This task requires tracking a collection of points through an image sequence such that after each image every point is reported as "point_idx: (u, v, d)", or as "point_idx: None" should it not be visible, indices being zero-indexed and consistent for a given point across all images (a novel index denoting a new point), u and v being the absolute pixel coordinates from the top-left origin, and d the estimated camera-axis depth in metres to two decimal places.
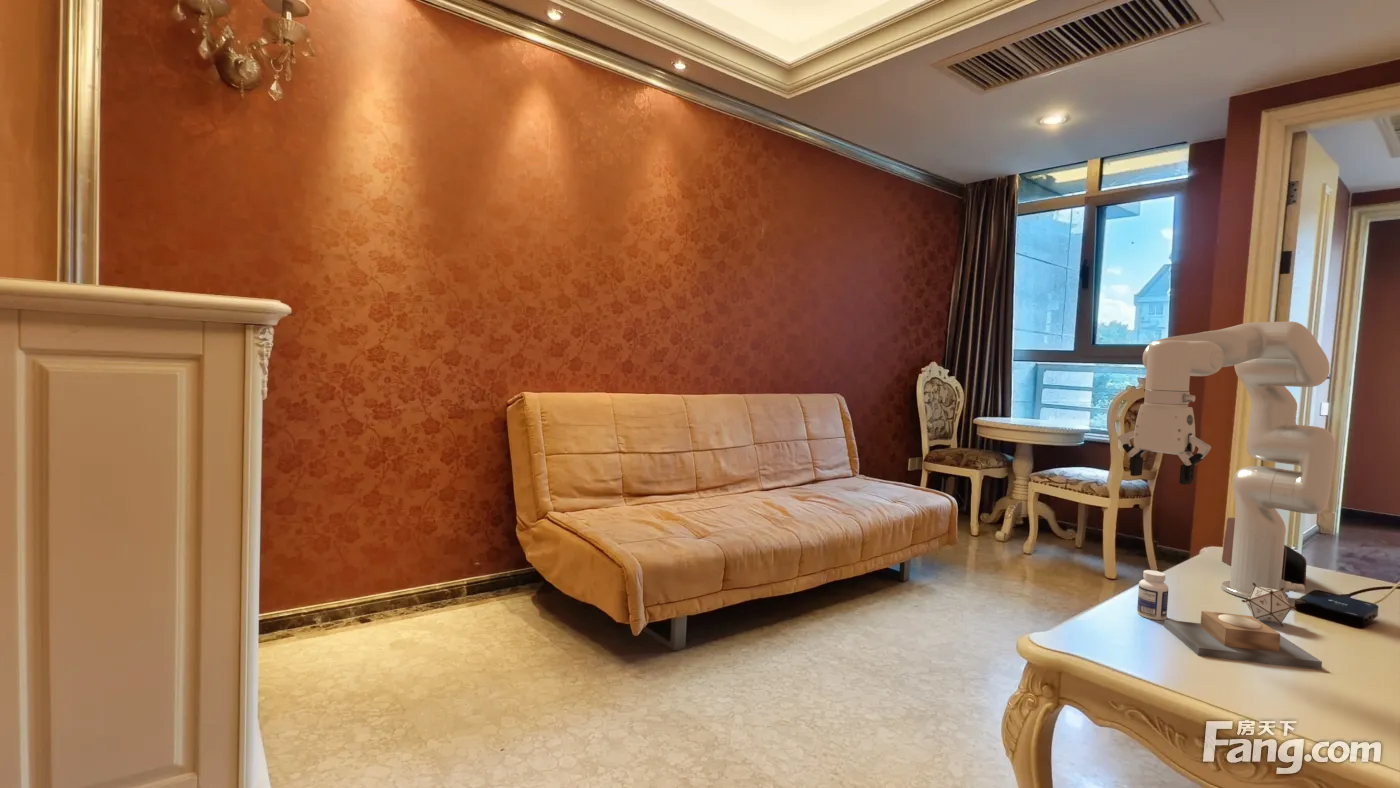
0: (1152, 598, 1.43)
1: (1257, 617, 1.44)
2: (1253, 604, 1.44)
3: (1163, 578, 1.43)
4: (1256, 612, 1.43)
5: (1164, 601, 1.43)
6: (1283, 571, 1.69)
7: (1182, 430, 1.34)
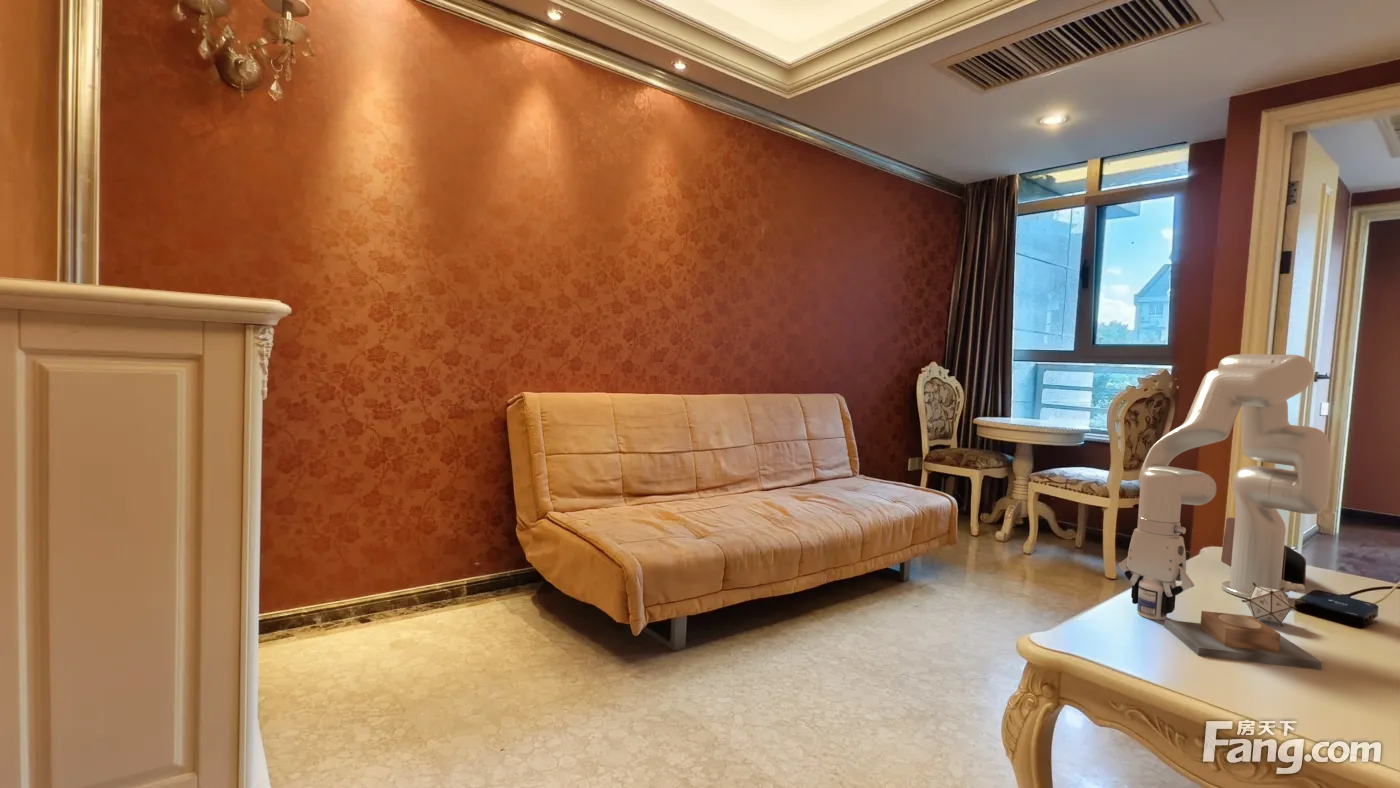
0: (1152, 597, 1.43)
1: (1257, 617, 1.44)
2: (1253, 604, 1.44)
3: None
4: (1256, 612, 1.43)
5: None
6: (1283, 571, 1.69)
7: (1173, 561, 1.40)
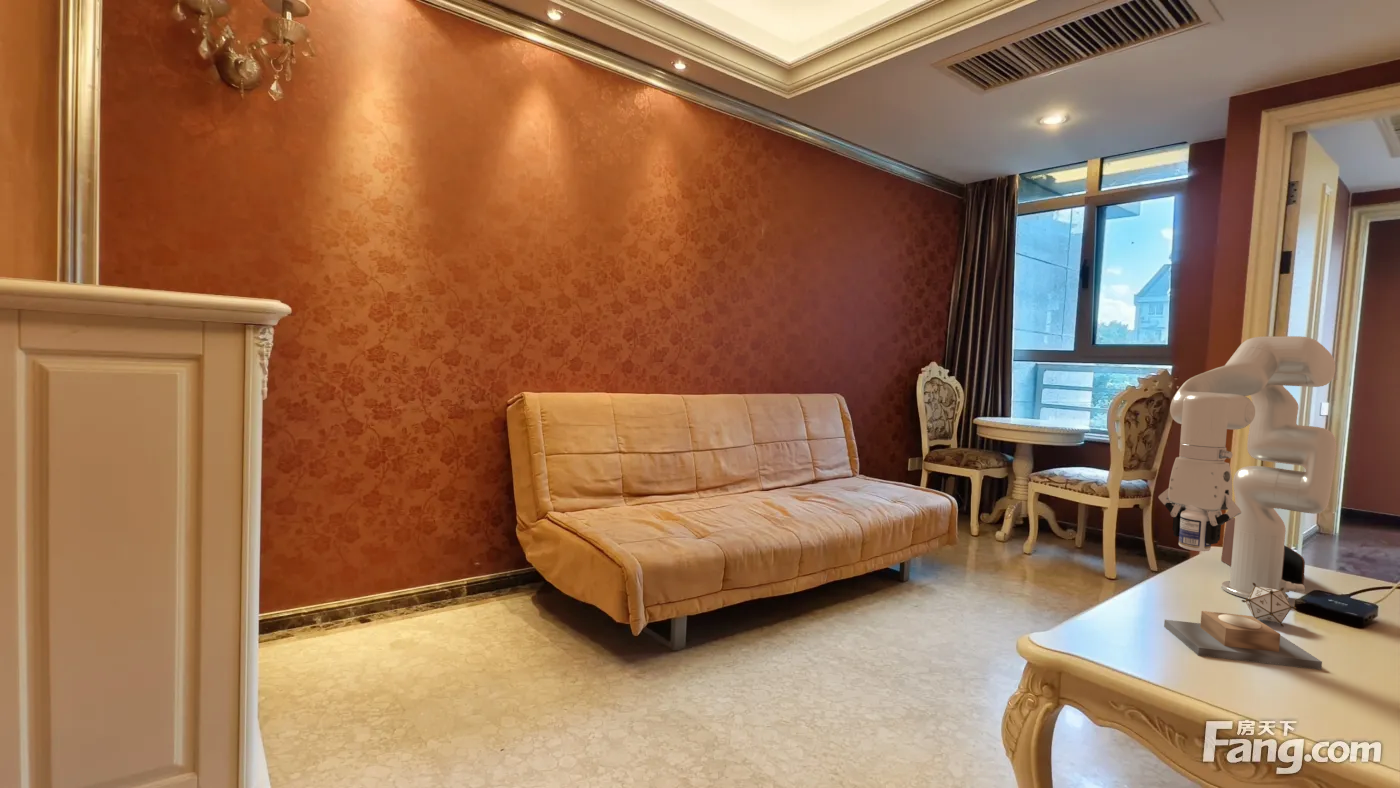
0: (1195, 527, 1.35)
1: (1257, 617, 1.44)
2: (1253, 604, 1.44)
3: None
4: (1256, 612, 1.43)
5: None
6: None
7: (1219, 487, 1.32)
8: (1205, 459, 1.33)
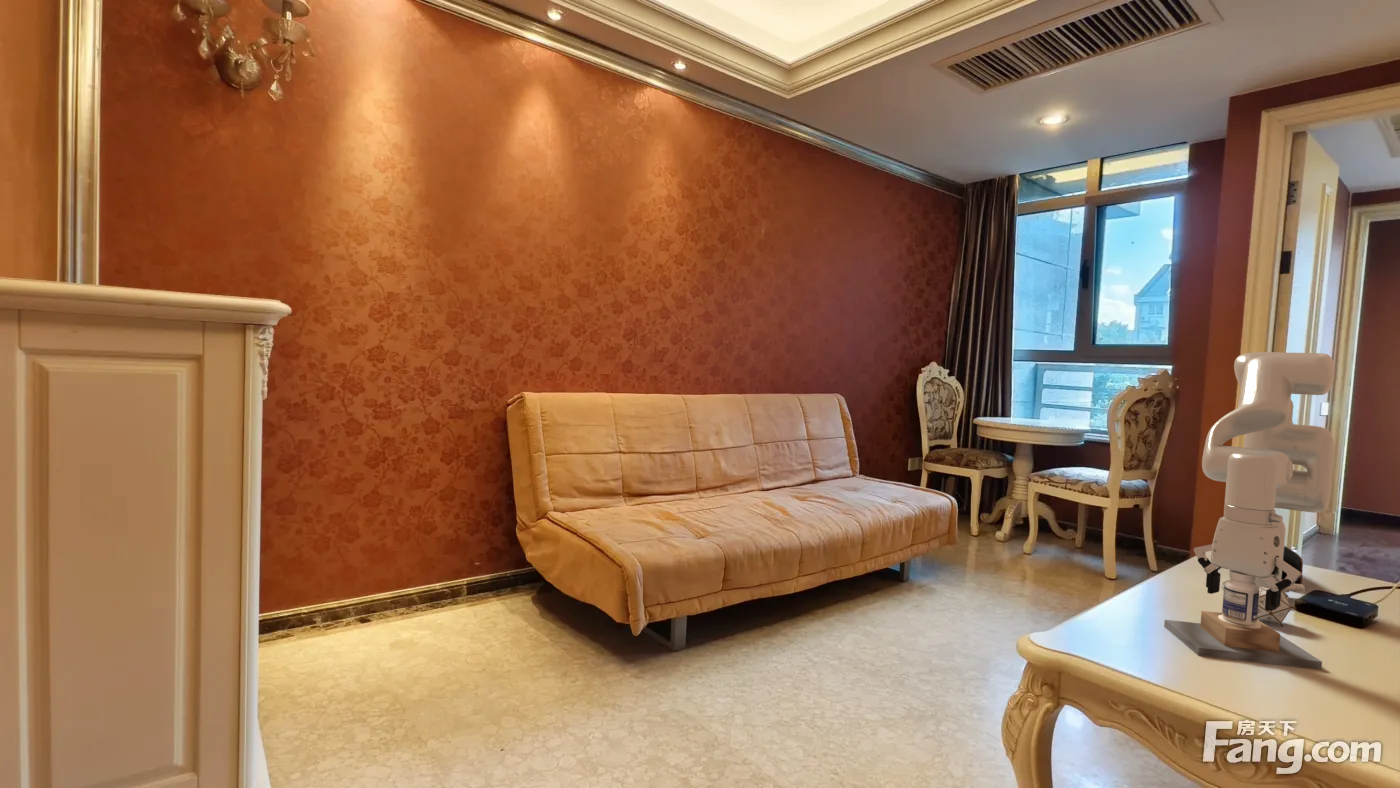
0: (1242, 600, 1.28)
1: (1257, 617, 1.44)
2: None
3: (1254, 578, 1.28)
4: None
5: (1255, 604, 1.28)
6: None
7: (1268, 553, 1.24)
8: (1254, 523, 1.26)
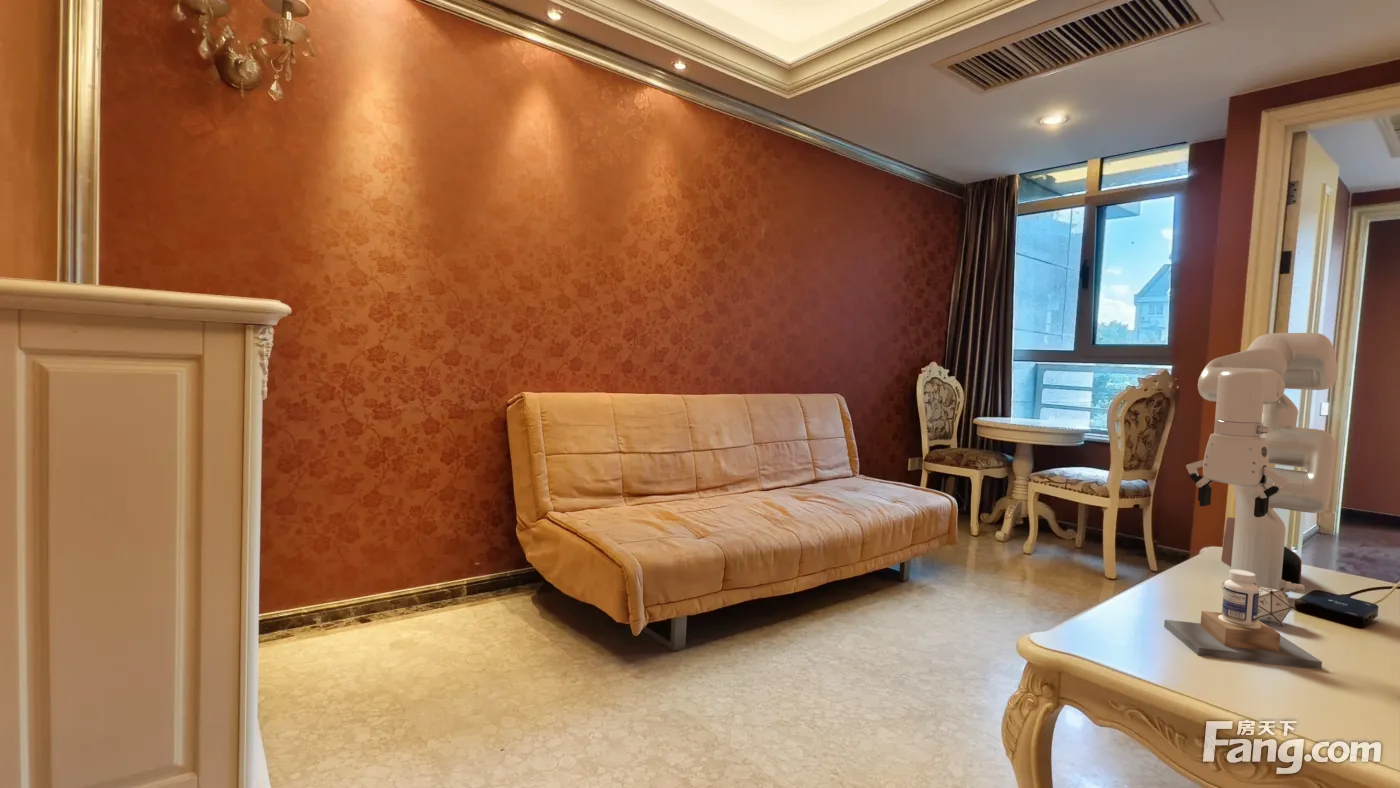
0: (1242, 600, 1.28)
1: (1257, 617, 1.44)
2: None
3: (1253, 578, 1.28)
4: None
5: (1255, 604, 1.28)
6: None
7: (1257, 463, 1.32)
8: (1243, 435, 1.33)
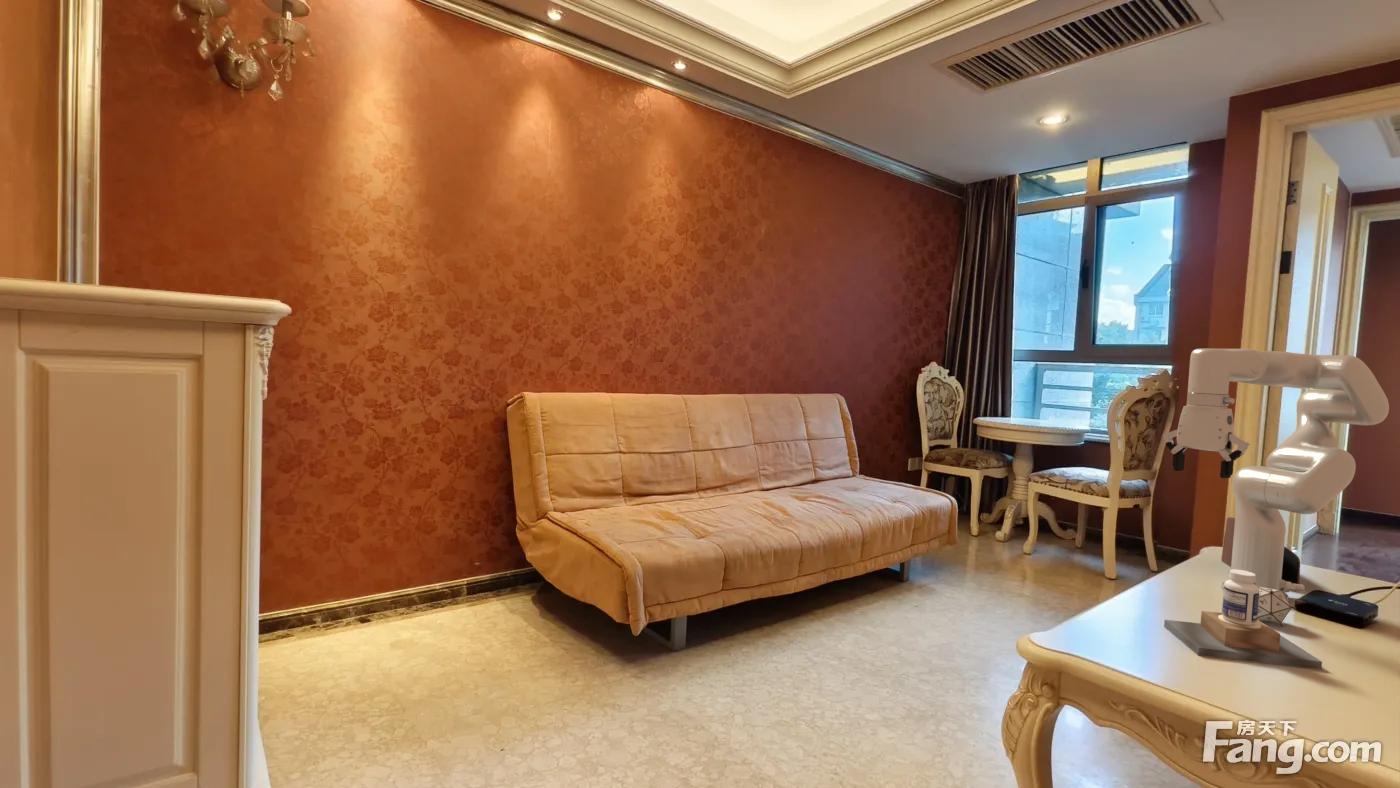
0: (1242, 600, 1.28)
1: (1257, 617, 1.44)
2: None
3: (1254, 578, 1.28)
4: None
5: (1255, 604, 1.28)
6: None
7: (1223, 429, 1.49)
8: (1211, 405, 1.50)
